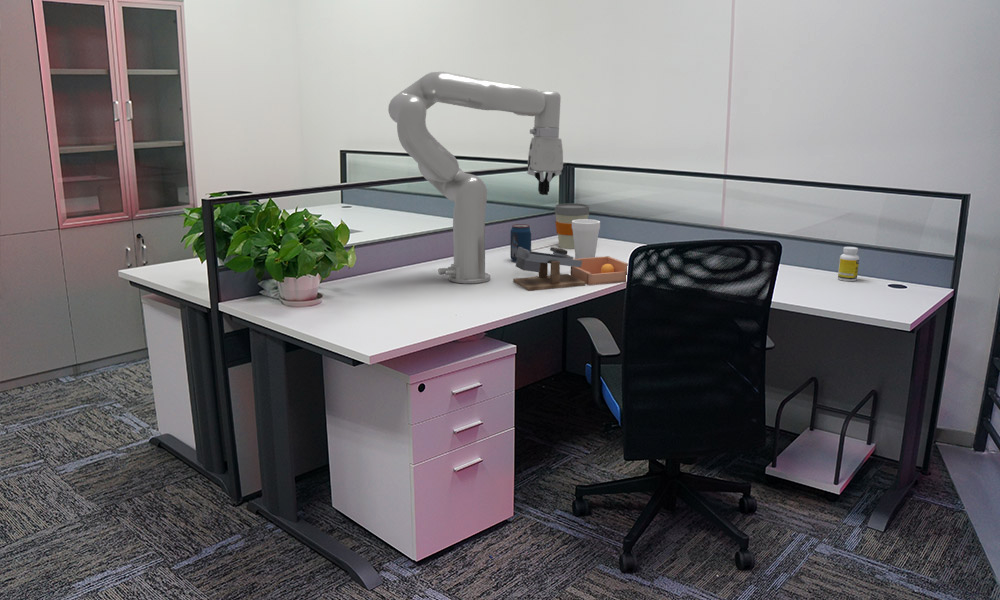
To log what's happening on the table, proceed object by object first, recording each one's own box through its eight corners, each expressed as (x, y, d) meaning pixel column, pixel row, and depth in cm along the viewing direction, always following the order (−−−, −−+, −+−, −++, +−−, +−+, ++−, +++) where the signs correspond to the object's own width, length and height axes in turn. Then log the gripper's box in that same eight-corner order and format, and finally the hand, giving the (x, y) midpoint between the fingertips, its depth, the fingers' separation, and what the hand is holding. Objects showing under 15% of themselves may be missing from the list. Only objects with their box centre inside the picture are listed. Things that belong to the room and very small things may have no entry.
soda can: (532, 259, 280) (532, 224, 277) (529, 263, 274) (530, 227, 271) (511, 258, 281) (511, 223, 278) (509, 262, 275) (509, 226, 272)
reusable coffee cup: (579, 251, 294) (580, 209, 290) (548, 247, 300) (548, 206, 297) (594, 245, 304) (595, 204, 301) (563, 242, 311) (564, 202, 307)
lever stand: (528, 290, 237) (528, 265, 235) (513, 281, 247) (513, 257, 246) (585, 285, 243) (585, 260, 241) (567, 277, 254) (568, 253, 252)
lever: (523, 270, 237) (527, 250, 236) (504, 260, 251) (507, 241, 250) (580, 277, 245) (584, 257, 244) (558, 267, 259) (562, 248, 257)
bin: (588, 285, 243) (588, 266, 242) (570, 276, 254) (570, 259, 253) (627, 281, 248) (627, 263, 246) (608, 273, 259) (608, 256, 257)
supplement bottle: (857, 282, 246) (861, 249, 244) (838, 281, 248) (841, 248, 246) (856, 278, 251) (859, 246, 249) (837, 277, 253) (840, 245, 250)
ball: (602, 271, 248) (611, 262, 249) (596, 269, 252) (605, 259, 252) (610, 280, 250) (619, 271, 250) (603, 278, 254) (612, 268, 254)
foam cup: (600, 262, 275) (601, 223, 272) (572, 262, 275) (572, 223, 272) (597, 256, 284) (598, 219, 281) (570, 256, 284) (571, 219, 281)
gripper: (527, 133, 244) (524, 195, 248) (574, 134, 248) (570, 195, 253) (518, 132, 251) (516, 193, 255) (564, 133, 255) (561, 193, 260)
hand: (543, 194), depth 254 cm, fingers closed
